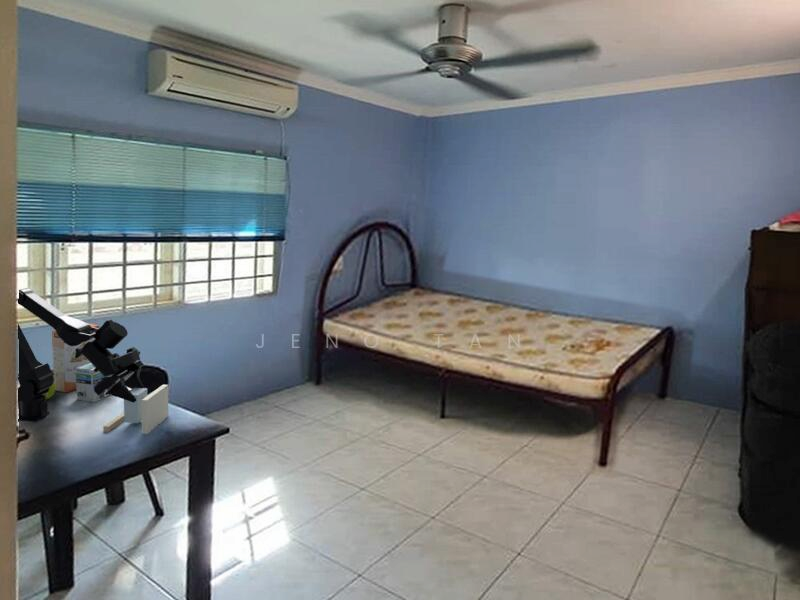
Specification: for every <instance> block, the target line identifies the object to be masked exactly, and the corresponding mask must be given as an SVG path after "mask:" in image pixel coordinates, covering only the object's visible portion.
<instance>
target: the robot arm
mask: <svg viewBox="0 0 800 600" xmlns="http://www.w3.org/2000/svg"><path fill="white" fill-rule="evenodd" d="M18 290H19V299H18V305H20V306H22V308H24V309H26V310H27V311H28V312H30V313H31V314H32V315H34V316H36V317H37V318H38V319H39V320H42V321H43V322H44V323H46V324H47V325H49V326H50V327H52V329H53V330H56V333H57V335H58V336H59V337H60V338H61V339H62V340H63V341H64V342H65V343H66V344H67V345H69V346H77V345H79V344H82V343H84V342H87V341H89V340H91V339H93V338H95V340H94V341H93V342H87V343H86V344H85V345H84V346H83V347H79V348H77V349H76V354H75V358H79V357H81V356H83V355H84V356H85V357H86V358H87V359H88V360H89V361H90V362H91V363H92V364H93V365H94V367H95V369H94V371H95V372H98V371H99V372H100V373H101V374H102V375H103V376H104V378H103V379H102V380H101V381H100V382H99V383H98V384H96V385H95V386H94V392H95V393H96V394H97V395H98V396H100V395H101V394H103V393H104V392H105V390H106V389H107V390H108V391H107V392H106V393H105V394H106V395H107V394H109V396H113V397H115V398H118V399H123V400H124V399H125V400H127V401H130V402H133V403H134V402H135V401H136V398H135V397H134V396H133V394H132V393H131V392H130V389H133V388H145V386H144V384H143V381H142V379H141V377H140V373H141V371H142V367H143V366H144V365H145V363H143V362H142V361H141V358H140V354H141V351H140V350H138V349H137V348H136V347H135V346H132V347H130V348H126V353H123V354H122V355H120V354H119V353H116V352H115V353H112V352H111V351H110V350H111V349H115V348H116V346H118V345H119V343H121V341H123V340H124V339H125V338H126V337H127V336H128V330H127V328H126V327H125V326H124V325H123V324H122V325H121V324H120V323H119V322H116V321H113V320H112V319H111V318H109V319H107V320H105V321H104V323H103V324H102V326H99V328H95V327H91V326H90V325H89V324H90V323H87V322H86V321H85V322H84V321H83V320H81V319H78V318H74V317H70V316H68V315H66V314H65V313H64V312H62V311H61V310H59V309H58V308H56V307H55V306H53V305H52V304H51V303H49V302H48V301H47V300H45V299H43V298H42V297H41V296H39V295H38V294H36V293H35V292H34V290H33V289H30V288H28V287H26V288H22V289H21V288H20V289H18ZM21 328H22V327H21V326H20V324H19V323H18V339H19V369H18V370H19V374H17V381H18V384H19V386H18V388H17V389H18V401H17V410H18V409H19V414H18V416H19V420H18V421H33V422H34V421H39V420H41V419H42V418H44V417H45V416H48V415H49V414H50V411H48V400H47V399H45V395H43V394H45V393H48V392H49V389H50V387H51V386H52V385H53V382H54V377H53V375H54V373H53V370H52V369H51V367H50V364H49V363H48V362H46V363H44V364H43V363H42V362H40V361H39V360H38V359H37V357H36V356H35V354H34V352H33V350H32V348H31V346H30V344H29V342H28V340H27V338H26V336H25V334H24V332H23V331H22V329H21ZM18 376H19V377H18ZM128 387H129V388H130V389H129V388H128ZM21 419H22V420H21Z"/></svg>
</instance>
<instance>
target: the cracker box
mask: <svg viewBox="0 0 800 600" xmlns="http://www.w3.org/2000/svg"><path fill="white" fill-rule="evenodd" d="M88 324H89V325H90V326H91V327H95V328H100V325H97V324H94V323H88ZM51 338H52V339H51V340H52V341H51V345H52V346H51V347H52V348H51V349H52V372H53V373H54V375H53V377H54V384H55V387H56V389H55V392H56V391H57V392H60V393H68V392H69V393H70V392H71V391H75V390H76V391H77V389H76V368H78V367H81V366H83V365H86V364H89V363H91V362H90V361H89V360H88V359H87V358H86V357H85V356H84V355H83V356H81V357H79V358H75V354H76V349H77V348H79V347H83V346H84V345H85V344H86V343H87V342H93V341H94V340H95V338H93V339H91V340H89V341H87V342H84V343H82V344H79V345H77V346H69V345H67V344H66V343H65V342H64V341H63V340H62V339H61V338H60V337H59V336H58V335H57V333H56V330H55V329H52V330H51Z"/></svg>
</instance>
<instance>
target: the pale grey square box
mask: <svg viewBox="0 0 800 600" xmlns="http://www.w3.org/2000/svg"><path fill="white" fill-rule="evenodd" d="M129 391H130V392H131V393H132V394H133V396H134V397H135V398H136V401H135V402H134V403H133V402H130V401H127V400H125V399H123V412H124V421H123V422H124V423H127V424H128V423H130V424H139V423H140V422H142V408H141V400H142V399H144V398H145V397H146V396H148V388H146V387H144V388H133V389H132V388H130V389H129Z"/></svg>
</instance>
